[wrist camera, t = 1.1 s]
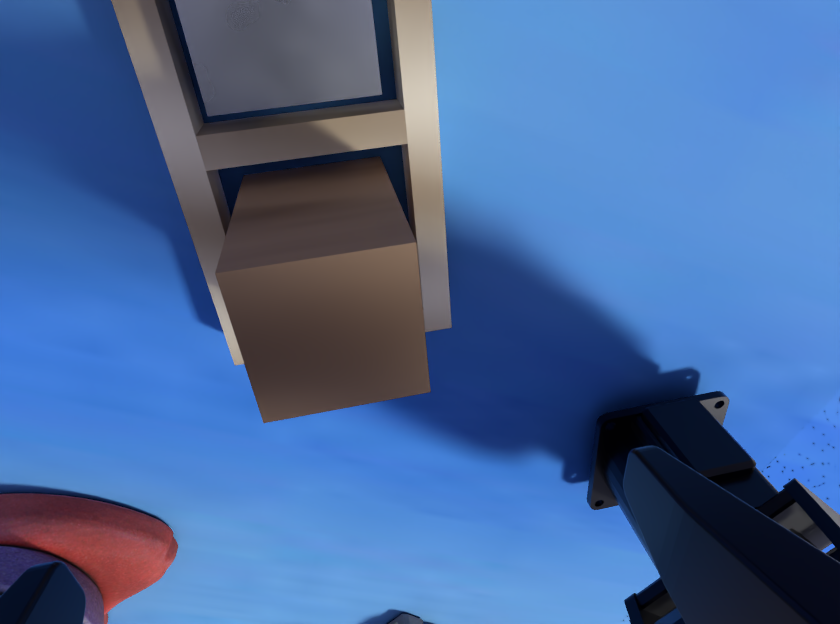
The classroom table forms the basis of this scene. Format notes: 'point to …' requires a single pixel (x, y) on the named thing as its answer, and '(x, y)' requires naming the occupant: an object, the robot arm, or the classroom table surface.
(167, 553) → the stacking bear
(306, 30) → the grey block
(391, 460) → the classroom table surface
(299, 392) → the walnut block
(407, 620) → the truck
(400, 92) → the wooden compartment frame
